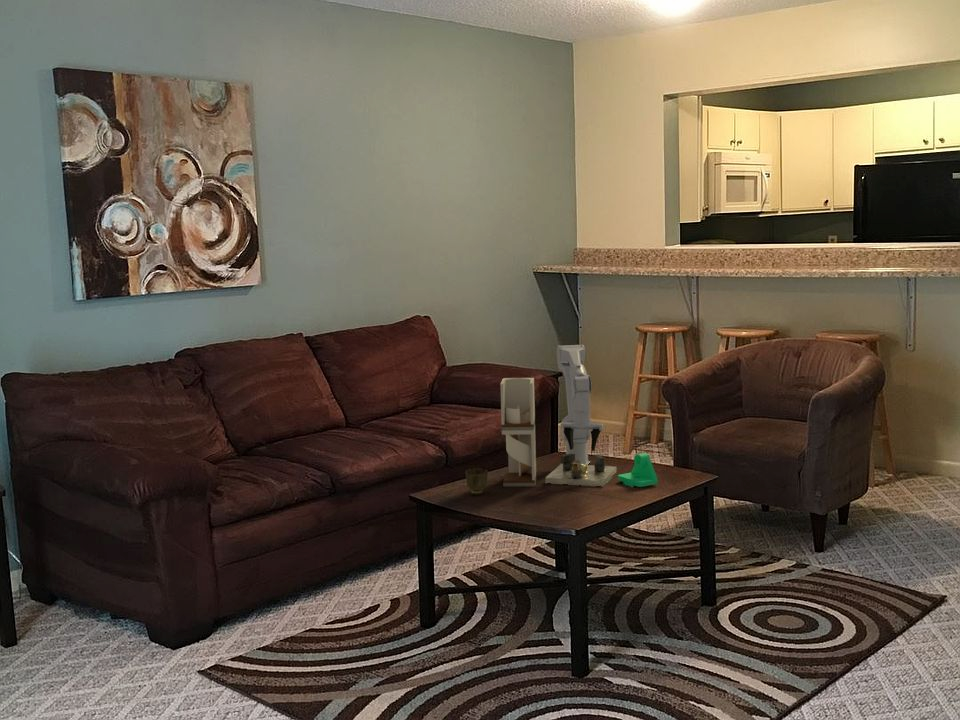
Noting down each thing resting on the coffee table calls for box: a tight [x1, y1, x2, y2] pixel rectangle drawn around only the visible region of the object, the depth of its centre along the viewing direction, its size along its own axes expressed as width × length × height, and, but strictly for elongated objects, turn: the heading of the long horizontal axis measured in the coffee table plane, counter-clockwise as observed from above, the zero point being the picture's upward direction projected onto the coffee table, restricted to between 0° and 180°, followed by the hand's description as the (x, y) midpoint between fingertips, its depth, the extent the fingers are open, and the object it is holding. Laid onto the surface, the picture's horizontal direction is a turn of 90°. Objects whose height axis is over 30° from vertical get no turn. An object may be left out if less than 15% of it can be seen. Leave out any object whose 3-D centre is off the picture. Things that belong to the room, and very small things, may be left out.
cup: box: [464, 467, 489, 496], centre depth 348 cm, size 8×7×8 cm
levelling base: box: [544, 453, 618, 488], centre depth 365 cm, size 20×20×7 cm
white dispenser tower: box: [499, 377, 537, 487], centre depth 360 cm, size 11×11×35 cm
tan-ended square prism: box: [571, 460, 582, 478], centre depth 358 cm, size 5×4×5 cm
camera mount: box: [617, 452, 659, 488], centre depth 354 cm, size 12×8×10 cm, turn 31°
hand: (582, 449), depth 366 cm, fingers open, 7 cm apart
